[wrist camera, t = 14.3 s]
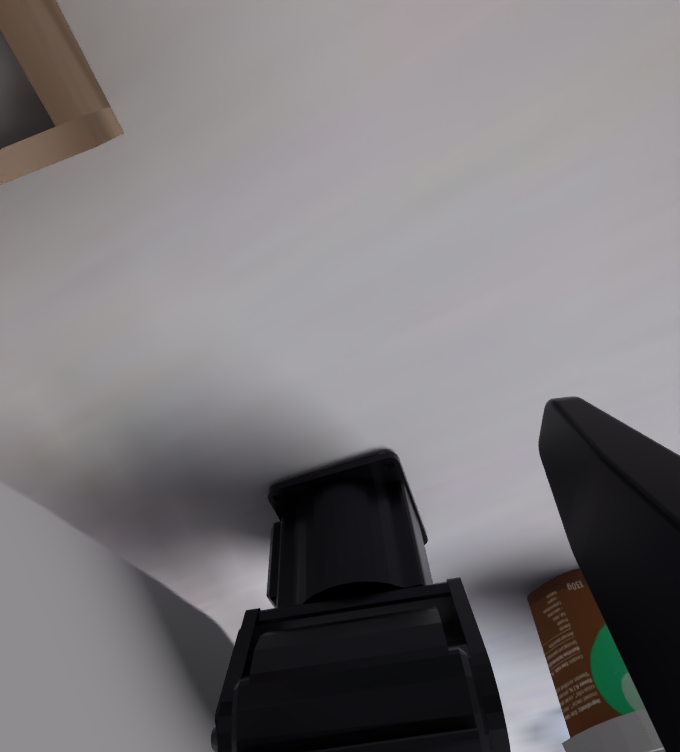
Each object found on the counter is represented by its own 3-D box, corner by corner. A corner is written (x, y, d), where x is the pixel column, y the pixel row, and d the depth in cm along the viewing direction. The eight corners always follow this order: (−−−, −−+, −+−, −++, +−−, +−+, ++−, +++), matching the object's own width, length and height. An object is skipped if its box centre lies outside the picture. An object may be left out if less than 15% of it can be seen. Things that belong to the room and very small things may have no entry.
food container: (733, 581, 32) (888, 778, 23) (658, 637, 34) (772, 830, 26) (575, 524, 28) (690, 731, 20) (506, 591, 31) (581, 797, 22)
